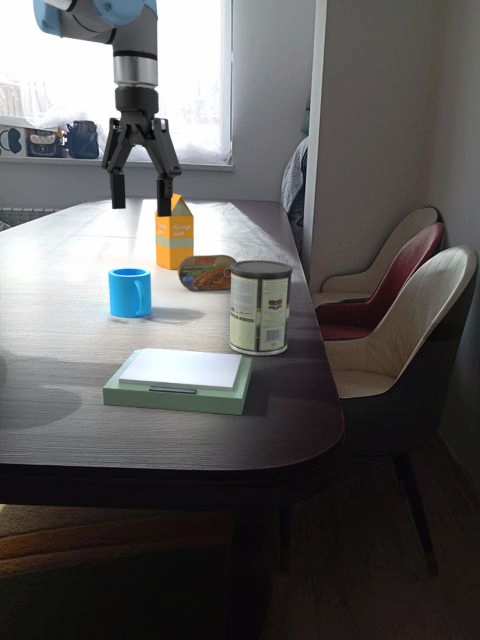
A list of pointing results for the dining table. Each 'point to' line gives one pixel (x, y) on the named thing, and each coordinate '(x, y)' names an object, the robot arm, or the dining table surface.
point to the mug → (130, 292)
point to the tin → (206, 272)
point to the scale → (181, 381)
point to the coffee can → (259, 307)
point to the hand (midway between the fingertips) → (140, 212)
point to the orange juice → (174, 235)
